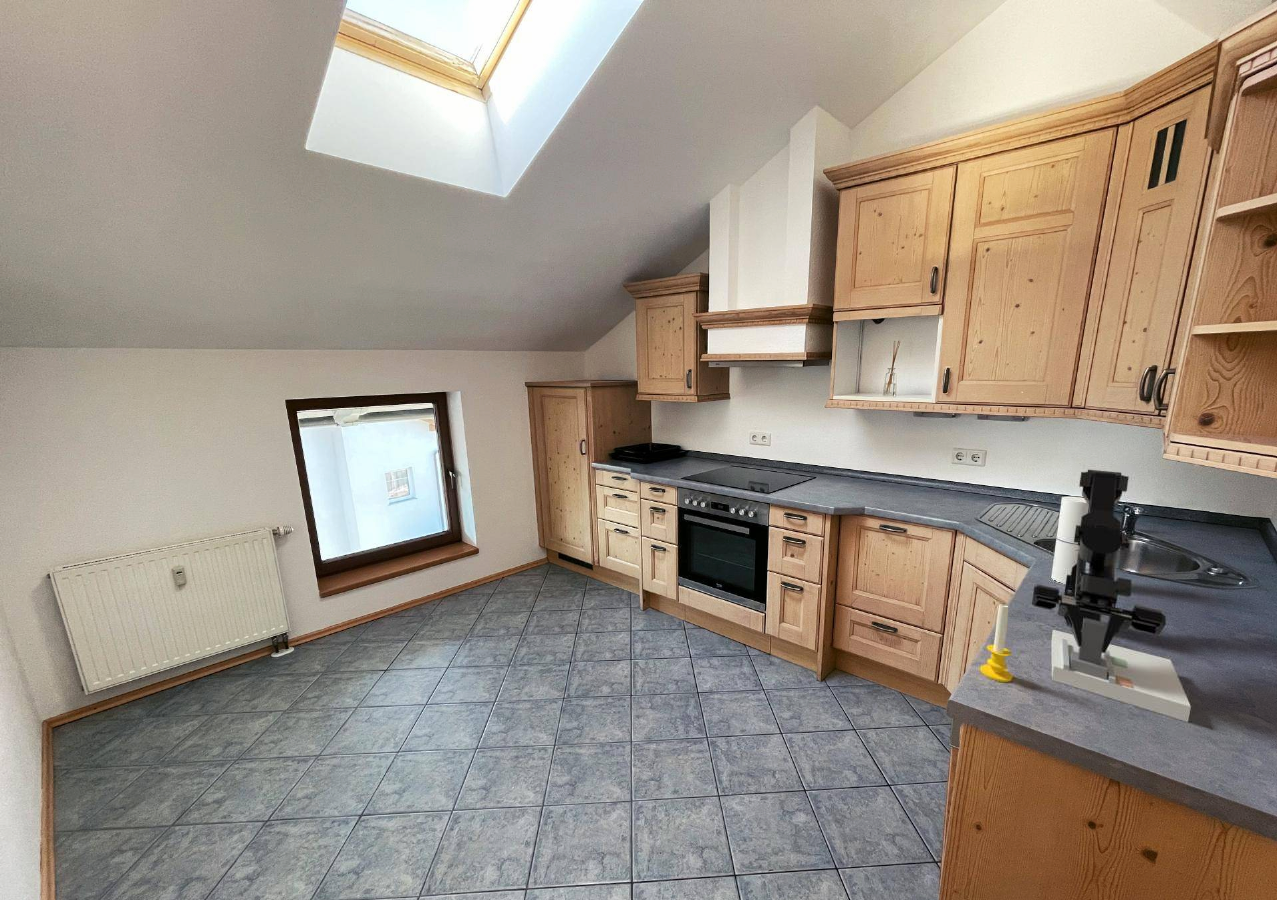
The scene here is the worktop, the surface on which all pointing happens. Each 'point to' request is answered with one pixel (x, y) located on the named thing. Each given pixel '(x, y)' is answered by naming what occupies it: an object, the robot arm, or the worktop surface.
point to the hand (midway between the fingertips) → (1091, 649)
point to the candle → (998, 650)
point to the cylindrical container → (1067, 537)
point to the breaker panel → (1124, 677)
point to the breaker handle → (1090, 650)
